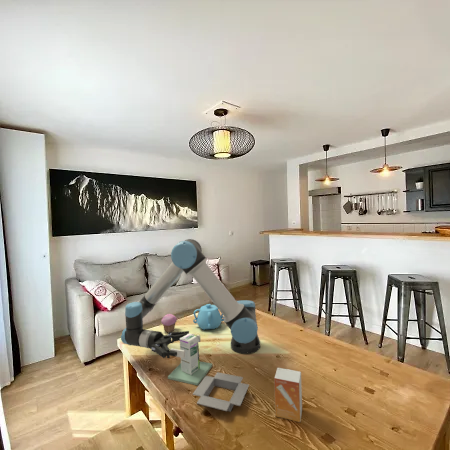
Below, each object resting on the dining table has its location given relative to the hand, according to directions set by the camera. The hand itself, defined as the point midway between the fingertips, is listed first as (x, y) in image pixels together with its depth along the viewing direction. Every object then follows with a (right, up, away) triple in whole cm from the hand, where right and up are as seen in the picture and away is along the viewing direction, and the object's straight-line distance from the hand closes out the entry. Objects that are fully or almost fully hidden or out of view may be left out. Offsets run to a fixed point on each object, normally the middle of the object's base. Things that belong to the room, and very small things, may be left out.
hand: (192, 346), depth 107 cm
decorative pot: (+4, -11, +47) cm, 49 cm away
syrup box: (-1, -11, +1) cm, 11 cm away
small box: (+35, -11, -24) cm, 44 cm away
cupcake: (-19, -12, +43) cm, 48 cm away
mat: (-1, -12, +1) cm, 12 cm away
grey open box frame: (+13, -11, -15) cm, 23 cm away
